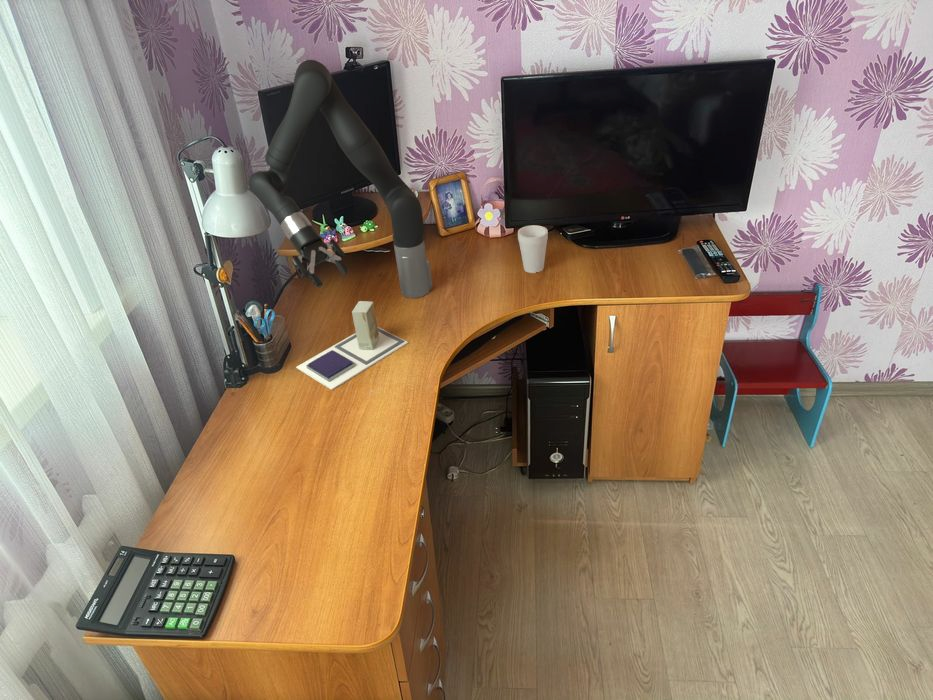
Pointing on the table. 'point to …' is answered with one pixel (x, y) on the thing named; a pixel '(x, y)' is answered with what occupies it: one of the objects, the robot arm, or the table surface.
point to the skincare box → (365, 325)
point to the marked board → (356, 356)
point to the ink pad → (330, 365)
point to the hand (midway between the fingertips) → (333, 279)
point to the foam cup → (533, 247)
